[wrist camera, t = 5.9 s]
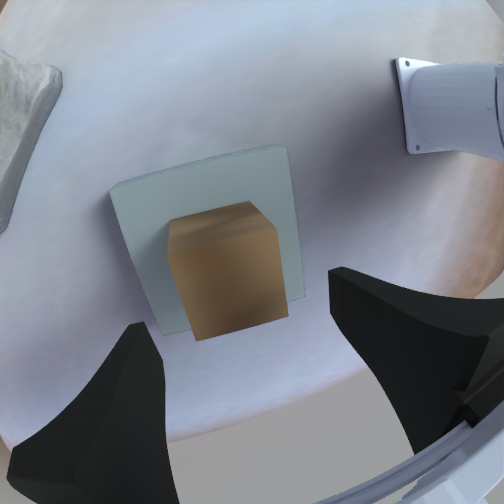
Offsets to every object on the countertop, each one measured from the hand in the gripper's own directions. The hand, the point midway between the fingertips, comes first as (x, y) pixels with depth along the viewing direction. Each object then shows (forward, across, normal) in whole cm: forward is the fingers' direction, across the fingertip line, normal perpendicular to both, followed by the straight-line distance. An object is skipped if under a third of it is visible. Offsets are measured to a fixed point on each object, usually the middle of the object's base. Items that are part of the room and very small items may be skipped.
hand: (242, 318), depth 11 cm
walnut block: (+7, 0, 0) cm, 7 cm away
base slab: (+10, 0, 0) cm, 10 cm away
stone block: (+10, +14, -12) cm, 21 cm away
